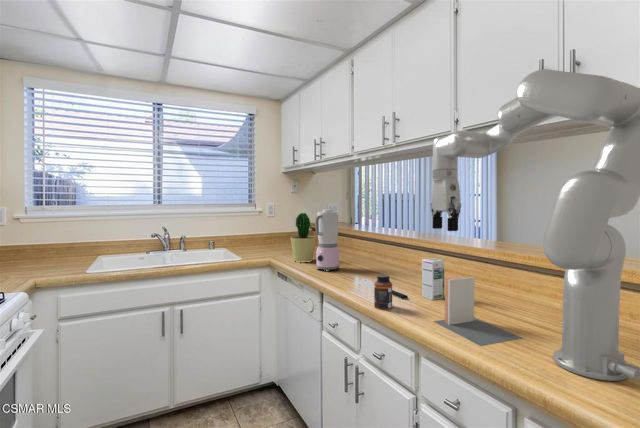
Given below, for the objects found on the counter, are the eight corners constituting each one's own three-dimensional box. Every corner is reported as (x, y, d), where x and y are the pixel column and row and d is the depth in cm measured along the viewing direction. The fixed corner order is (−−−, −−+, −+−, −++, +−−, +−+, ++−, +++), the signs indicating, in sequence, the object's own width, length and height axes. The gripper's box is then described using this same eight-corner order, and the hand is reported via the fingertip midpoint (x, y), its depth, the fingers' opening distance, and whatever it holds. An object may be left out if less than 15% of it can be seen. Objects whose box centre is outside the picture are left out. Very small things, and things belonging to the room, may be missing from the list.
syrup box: (432, 300, 122) (433, 261, 121) (421, 296, 127) (421, 258, 126) (444, 298, 124) (444, 259, 123) (432, 294, 129) (433, 257, 129)
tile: (473, 320, 99) (474, 277, 99) (449, 324, 96) (449, 280, 96) (469, 318, 101) (469, 276, 100) (444, 322, 98) (445, 278, 97)
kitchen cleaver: (347, 281, 149) (366, 276, 153) (347, 285, 149) (366, 280, 153) (389, 300, 120) (411, 294, 125) (390, 305, 121) (411, 298, 125)
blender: (326, 266, 187) (326, 209, 186) (344, 269, 179) (343, 209, 178) (307, 270, 175) (307, 209, 174) (325, 273, 167) (325, 210, 166)
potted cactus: (317, 259, 210) (316, 211, 209) (314, 263, 195) (314, 212, 194) (293, 258, 212) (292, 211, 211) (288, 263, 196) (288, 212, 195)
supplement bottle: (395, 310, 111) (395, 276, 110) (378, 312, 109) (378, 277, 109) (387, 305, 116) (387, 273, 116) (371, 306, 115) (371, 274, 115)
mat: (523, 340, 87) (523, 338, 87) (480, 348, 82) (480, 345, 82) (470, 317, 104) (470, 315, 104) (433, 323, 99) (433, 321, 99)
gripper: (471, 173, 98) (471, 231, 99) (442, 178, 115) (442, 227, 116) (447, 173, 97) (447, 232, 98) (421, 178, 114) (421, 227, 115)
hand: (444, 229), depth 107 cm, fingers open, 9 cm apart
